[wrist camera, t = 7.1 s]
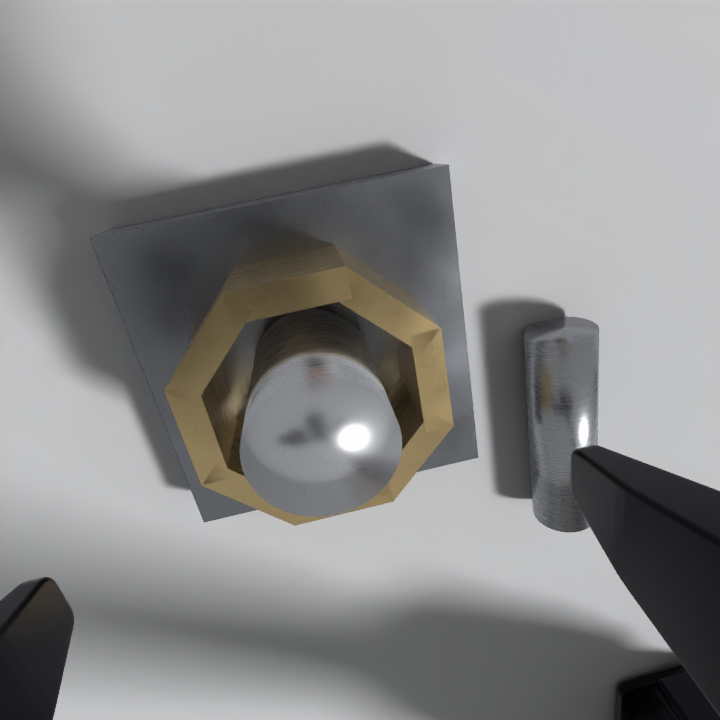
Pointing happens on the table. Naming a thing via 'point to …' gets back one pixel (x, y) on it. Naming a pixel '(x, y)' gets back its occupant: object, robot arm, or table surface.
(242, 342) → the square base plate
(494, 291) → the table surface
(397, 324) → the collar ring
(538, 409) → the steel pin
